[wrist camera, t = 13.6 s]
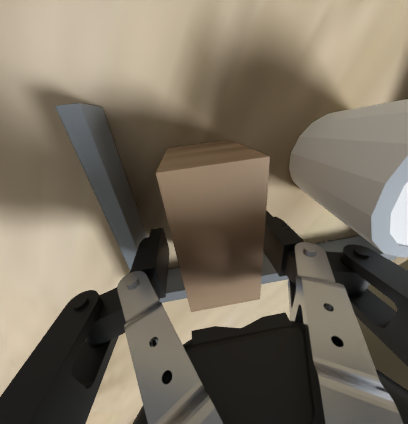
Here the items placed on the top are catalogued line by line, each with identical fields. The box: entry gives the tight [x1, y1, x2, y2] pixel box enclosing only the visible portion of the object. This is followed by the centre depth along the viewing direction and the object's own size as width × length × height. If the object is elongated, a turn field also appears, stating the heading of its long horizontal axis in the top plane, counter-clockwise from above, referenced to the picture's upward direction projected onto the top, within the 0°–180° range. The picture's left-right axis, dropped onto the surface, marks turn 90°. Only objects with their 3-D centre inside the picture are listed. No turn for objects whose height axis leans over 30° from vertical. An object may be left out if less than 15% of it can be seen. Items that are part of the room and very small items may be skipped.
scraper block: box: [156, 140, 270, 312], centre depth 10 cm, size 8×4×6 cm, turn 7°
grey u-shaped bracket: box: [55, 103, 397, 303], centre depth 12 cm, size 14×22×2 cm, turn 97°
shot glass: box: [289, 99, 408, 258], centre depth 9 cm, size 7×7×7 cm
